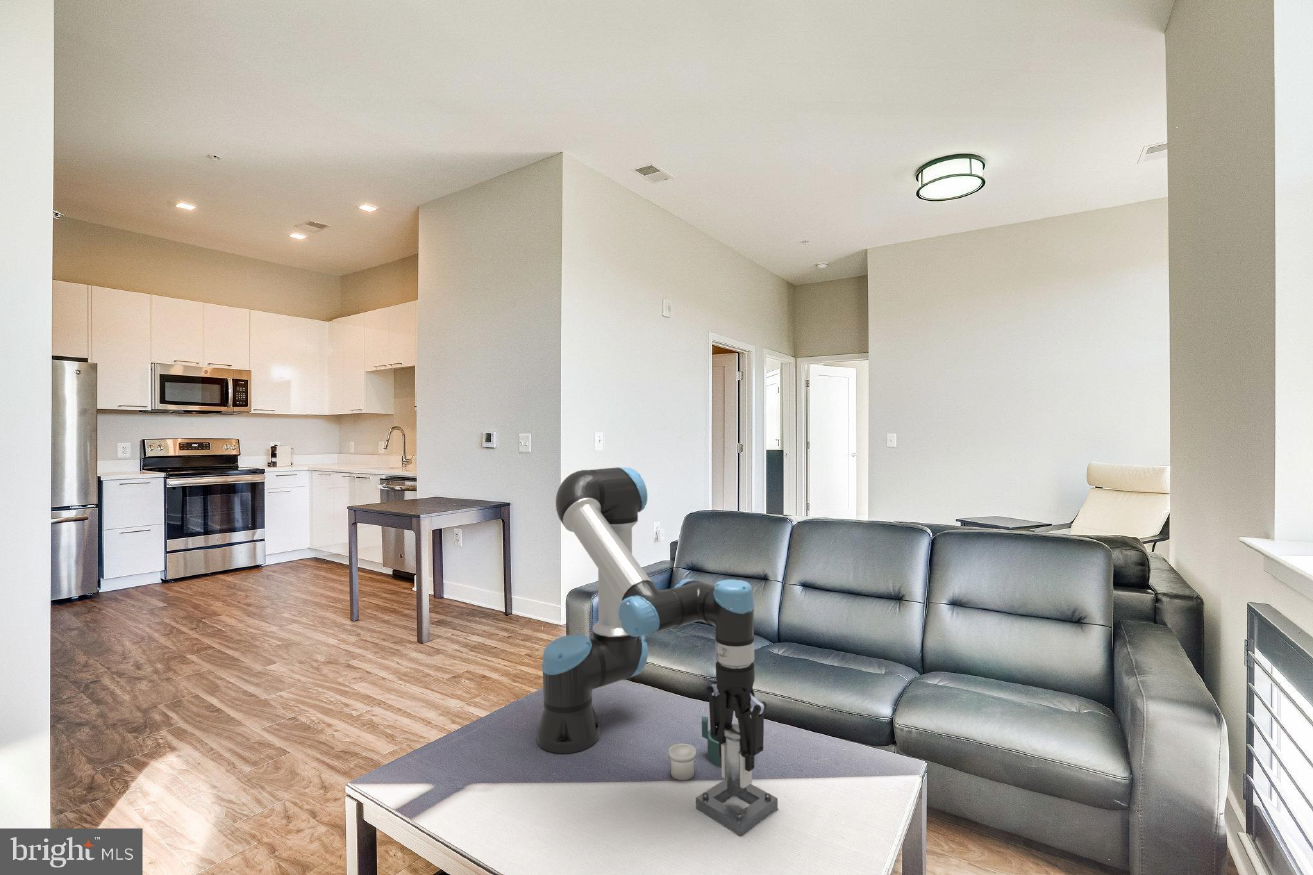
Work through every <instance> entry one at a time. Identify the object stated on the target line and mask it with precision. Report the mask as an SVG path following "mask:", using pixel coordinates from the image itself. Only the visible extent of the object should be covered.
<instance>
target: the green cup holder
mask: <svg viewBox="0 0 1313 875" xmlns="http://www.w3.org/2000/svg"><path fill="white" fill-rule="evenodd" d="M716 728H717V726H716ZM701 737H702V738H703V739H705V740H707V759H708V761H709V762H710V763H711V764H713V765H715V766H717V767H721V768H722V758H721V757H720V755H719V742H718V740H717V738H716V737H715V736H712V735H711V731H710V729H709V717H708V716H701Z"/></svg>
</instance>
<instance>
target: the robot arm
mask: <svg viewBox="0 0 1313 875" xmlns="http://www.w3.org/2000/svg"><path fill="white" fill-rule="evenodd" d="M647 503H648V489H647V486H646V483H645V481H644V478H643V477H642V476H641V474H640V473H639V472H638V471H637V470H635V469H633V468H631V467H619V466H618V467H607V468H606V467H605V468H597V469H596V468H595V469H581V470H577V471H575V472H573V473H571V474H569V475H568V476H567V477H566V478H565V479H563V481H562V482H561V483H560V486H559V487H558V489H557V491H556V496H555V510H556V513H557V516H558V519H559V520H560V522H561V524H562V525H563V526H564V528H565V529H566V530H567V531H569V532H572V533H574V536H575V537H576V538H577V539H578V540H579V542H580V544H581V545H582V547H583V548H584V550H585V551H586V552H587V554H588V555H589V557H590V559H591V560H592V561H593V563H594V565H595V566H596V567H597V571H598V572H597V574H598V576H597V577H598V578H597V579H598V584H597V585H598V588H597V589H598V590H597V591H598V592H597V593H598V595H597V596H598V605H597V606H598V620H597V622H596V623H594V625H593V626H592V638H589V636H587V635H585V634H580V633H579V634H578V633H577V634H573V635H572V634H568V635H564V636H560V637H557V638H555V639H554V640H552V641H551V642H549V643H548V644H547V645H546V646H545V648H544V650H543V653H542V664H541V670H542V685H543V686H542V687H543V689H542V690H543V691H542V692H543V709H542V712H541V716H540V719H539V723H538V726H537V729H536V741H537V742H536V743H537V745H538V747H540V748H541V749H542V750H545V751H547V752H549V753H554V754H555V753H556V754H570V753H571V754H572V753H577V752H581V751H584V750H587V749H589V748H590V747H592V746H594V745H595V744H596V743H597V742H598V741H599V739H600V736H601V726H600V722H599V719H598V717H597V713H596V711H595V708H594V705H593V690H594V689H598V688H601V687H605V686H607V685H611V684H614V683H617V682H621V681H626V680H629V679H630V678H632V677H635V676H638V675H639V674H640V673H641V672H643V670H644V668H645V666H646V665H647V661H648V657H649V656H648V655H649V649H648V648H649V647H648V643H647V641H646V636H651V635H654V634H655V633H658V632H662V631H667V630H669V629H673V628H677V627H681V626H685V625H689V624H692V623H696V622H702V623H705V624H707V625H710V626H713V627H714V633H715V635H714V639H715V640H714V642H715V660H716V662H715V680H716V682H714V683H713V684H710V685H708V686H706V688H705V689H706V692H707V696H708V704H709V705H708V709H709V726H710V727H709V728H710V729H709V730H710V731H711V735H712V736H715V737H716V738H717V740H718V742H719V755H720V757H721V758H722V767H721V778H723V779H726V737H725V736H724V728H725V727H727V726H728V725H730V724H733V719H734V718H733V717H734V716H735V718H736V719H737V724H739V730H740V736H741V742H742V749H743V752H741V753H740V787H741V788H745V787H746V786H748V785H750V784H753V770H754V769H755V756H756V755H758V754H760V753H762V752H763V751H764V734H765V733H764V732H765V731H764V727H765V726H764V725H765V723H764V722H765V721H764V720H765V712H766V709H767V703H766V702H765V701H762V702H760V701H759V699H758V698H756V694H755V692H754V689H753V688H754V683H755V678H756V677H755V674H756V673H755V663H754V662H755V641H754V640H755V637H754V635H755V634H754V632H755V631H754V630H755V629H754V624H755V623H754V620H755V619H754V618H755V617H754V615H755V614H754V613H755V612H754V611H755V602H754V593H753V592H754V591H753V587H752V585H751V583H749V582H747V581H744V580H741V579H723V580H720V581H717V582H716V583H715V584H714V585H712V584H709V583H707V582H704V581H702V580H699V579H691V578H685V579H682V580H680V581H679V583H677V584H676V585H675V586H674V587H672V588H666V589H663V590H660V589H659V588H657V586H656V585H655V584H654V582H653V581H652V580H651V578H650V577H649V576H648V574H647V573H646V572H645V571H644V569H643V568H642V567H641V565H640V563H639V562H638V561H637V559H636V558H635V557H634V555H633V527H634V526H635V525H637V523H638V522H639V513H641V512H642V511H643V510H644V509H645V508H646V506H647ZM716 727H717V728H716Z"/></svg>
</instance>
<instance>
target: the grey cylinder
mask: <svg viewBox="0 0 1313 875" xmlns="http://www.w3.org/2000/svg"><path fill="white" fill-rule="evenodd" d="M724 736H725V737H726V778H725V779H726V785H727V792H728V793H729V794H730V795H733V796H732V797H738V796H743V795H745V794H746V793H747V786H746V787H745V788H741V787H740V753H741V752H743V749H742V742H741V736H740V730H739V724H738V723H732V724H730V725H728V726H727V727H725V728H724Z"/></svg>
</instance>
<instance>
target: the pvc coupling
mask: <svg viewBox="0 0 1313 875" xmlns="http://www.w3.org/2000/svg"><path fill="white" fill-rule="evenodd" d="M696 754H697V752H696V748H695V747H694V746H692V745H691V744H687V743H677V744H673V745H672V746H671V747H669V749H668V756H669V759H670V774H671V778H673V779H675V780H679V781H688V780H690V779H692V778H693V777H694V775H695V759H696V757H697V755H696Z"/></svg>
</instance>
